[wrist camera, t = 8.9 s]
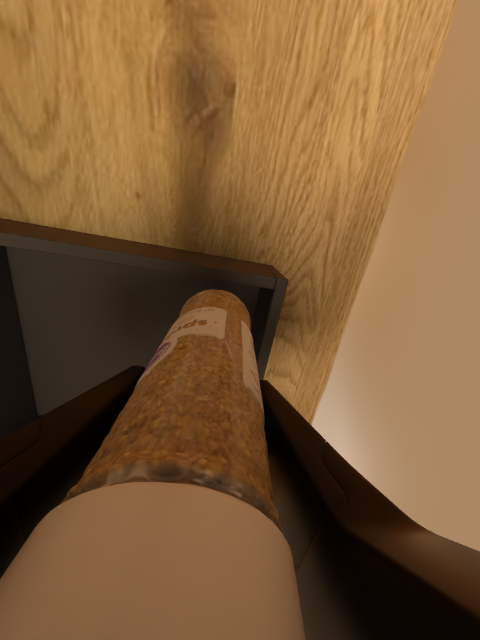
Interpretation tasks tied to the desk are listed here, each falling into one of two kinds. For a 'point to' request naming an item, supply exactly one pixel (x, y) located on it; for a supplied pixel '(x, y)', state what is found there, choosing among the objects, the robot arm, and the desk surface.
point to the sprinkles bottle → (168, 509)
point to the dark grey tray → (104, 310)
